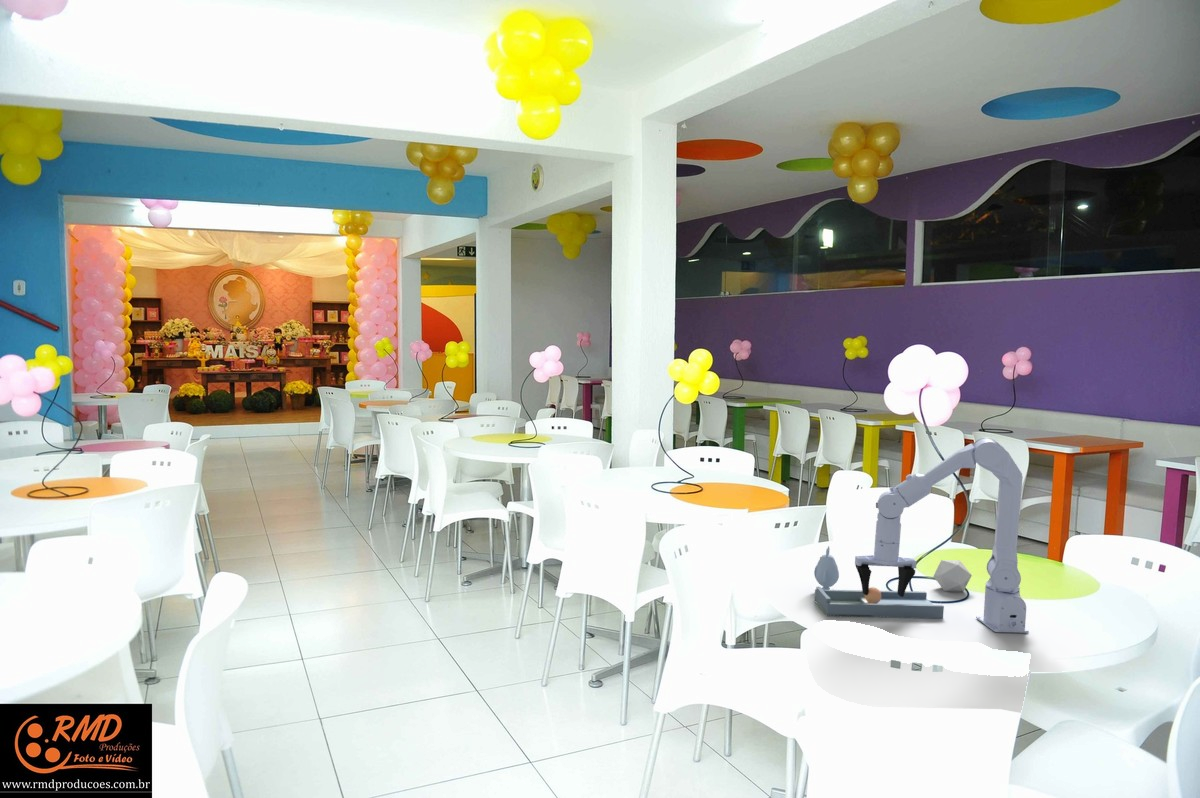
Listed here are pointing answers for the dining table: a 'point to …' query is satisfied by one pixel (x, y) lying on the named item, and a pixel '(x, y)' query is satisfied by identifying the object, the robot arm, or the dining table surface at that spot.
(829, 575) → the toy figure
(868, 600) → the ball
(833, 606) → the lane
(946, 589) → the die
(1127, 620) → the dining table surface
